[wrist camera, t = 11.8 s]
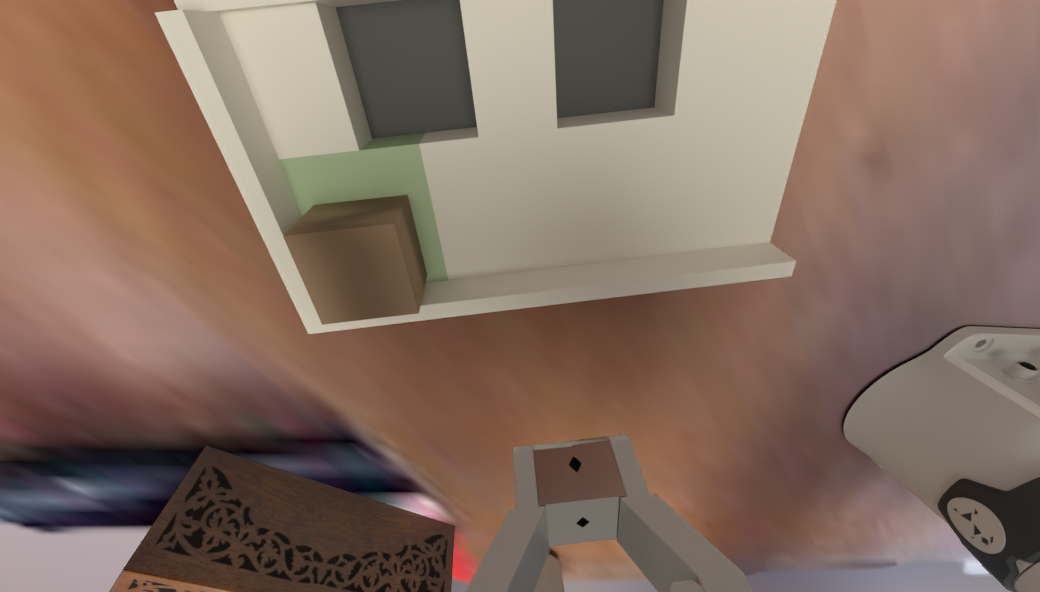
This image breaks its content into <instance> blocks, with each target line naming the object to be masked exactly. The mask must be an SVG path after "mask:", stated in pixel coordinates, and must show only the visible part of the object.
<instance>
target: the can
mask: <svg viewBox="0 0 1040 592" xmlns="http://www.w3.org/2000/svg"><path fill="white" fill-rule="evenodd" d="M534 592H564V586H563V579H562V573H561V566H560V562H559V561H558V559H556V558H555V557H553V556H552V555H551V554H550V553H548V556H547V558H546V561H545V564H544V566H543V569H542V571H541V574H540V577H539V579H538V582H537V585H536V587H535V590H534Z"/></svg>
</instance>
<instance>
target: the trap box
mask: <svg viewBox="0 0 1040 592" xmlns="http://www.w3.org/2000/svg"><path fill="white" fill-rule="evenodd" d="M836 1H837V0H174V2H175V4H176V6H177V8H178V10H174V11H164V12H155V15H156V17H157V19H158V21H159V23H160V25H161V27H162V29H163V31H164V33H165V36H166V38H167V40H168V42H169V44H170V46H171V48H172V50H173V52H174V54H175V56H176V59H177V61H178V63H179V65H180V67H181V69H182V71H183V73H184V75H185V77H186V79H187V81H188V84H189V86H190V88H191V90H192V92H193V94H194V96H195V98H196V100H197V102H198V104H199V107H200V109H201V111H202V113H203V115H204V117H205V119H206V121H207V123H208V125H209V127H210V130H211V132H212V134H213V136H214V138H215V140H216V142H217V144H218V146H219V148H220V150H221V152H222V155H223V157H224V159H225V161H226V163H227V165H228V167H229V169H230V171H231V173H232V175H233V178H234V180H235V182H236V184H237V186H238V188H239V190H240V192H241V194H242V196H243V198H244V201H245V203H246V205H247V207H248V209H249V211H250V213H251V215H252V217H253V219H254V221H255V223H256V226H257V228H258V230H259V232H260V234H261V236H262V238H263V240H264V242H265V244H266V246H267V249H268V251H269V253H270V255H271V257H272V259H273V261H274V263H275V265H276V267H277V269H278V272H279V274H280V276H281V278H282V280H283V282H284V284H285V286H286V288H287V290H288V292H289V294H290V297H291V299H292V301H293V303H294V305H295V307H296V309H297V311H298V313H299V315H300V317H301V320H302V322H303V324H304V326H305V328H306V330H307V332H308V334H313V333H322V332H330V331H338V330H347V329H355V328H363V327H372V326H380V325H388V324H397V323H405V322H413V321H422V320H430V319H439V318H447V317H455V316H464V315H472V314H480V313H489V312H497V311H505V310H514V309H522V308H530V307H539V306H547V305H555V304H564V303H572V302H581V301H589V300H597V299H606V298H614V297H622V296H631V295H639V294H647V293H656V292H664V291H672V290H681V289H689V288H698V287H706V286H714V285H723V284H731V283H739V282H748V281H756V280H764V279H773V278H781V277H789V276H792V273H793V270H794V267H795V264H796V260H794V259H793V258H791V257H790V256H789V255H787V254H786V253H784V252H783V251H782V250H780V249H779V248H777V247H776V246H775V245H773V244H772V243H770V241H771V237H772V233H773V230H774V226H775V223H776V219H777V215H778V212H779V208H780V204H781V201H782V197H783V193H784V190H785V186H786V183H787V179H788V175H789V172H790V168H791V164H792V161H793V157H794V154H795V150H796V146H797V143H798V139H799V135H800V132H801V128H802V125H803V121H804V117H805V114H806V110H807V106H808V103H809V99H810V95H811V92H812V88H813V85H814V81H815V77H816V74H817V70H818V66H819V63H820V59H821V56H822V52H823V48H824V45H825V41H826V37H827V34H828V30H829V27H830V23H831V19H832V16H833V12H834V8H835V5H836ZM399 195H408V198H409V202H410V206H411V210H412V214H413V218H414V223H415V227H416V231H417V235H418V239H419V243H420V247H421V251H422V255H423V259H424V263H425V268H426V272H427V279H426V283H425V288H424V292H423V297H422V301H421V306H420V310H419V313H418V314H409V315H401V316H392V317H383V318H375V319H366V320H358V321H349V322H341V323H332V324H324V325H322V323H321V321H320V319H319V316H318V314H317V312H316V310H315V307H314V305H313V303H312V301H311V298H310V296H309V294H308V292H307V289H306V287H305V285H304V283H303V280H302V278H301V276H300V274H299V271H298V269H297V267H296V265H295V262H294V260H293V258H292V256H291V253H290V251H289V249H288V247H287V244H286V242H285V240H284V238H283V235H284V234H285V233H286V232H287V231H288V230H289V229H290V228H291V227H292V226H293V225H294V224H295V223H296V222H297V221H298V220H299V219H300V218H301V217H302V216H303V215H304V214H305V213H306V212H307V211H308V210H309V209H310V208H311V207H312V206H313V205H318V204H327V203H336V202H345V201H354V200H363V199H372V198H381V197H390V196H399Z"/></svg>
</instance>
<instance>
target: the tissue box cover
mask: <svg viewBox="0 0 1040 592" xmlns="http://www.w3.org/2000/svg"><path fill="white" fill-rule="evenodd" d="M454 528H455V526H453V525H450V524H446V523H443V522H440V521H437V520H434V519H431V518H428V517H425V516H422V515H419V514H416V513H412V512H409V511H406V510H403V509H400V508H397V507H394V506H391V505H388V504H385V503H382V502H379V501H375V500H372V499H369V498H366V497H363V496H360V495H357V494H354V493H351V492H348V491H345V490H341V489H338V488H335V487H332V486H329V485H326V484H323V483H320V482H317V481H314V480H311V479H307V478H304V477H301V476H298V475H295V474H292V473H289V472H286V471H283V470H280V469H277V468H274V467H270V466H267V465H264V464H261V463H258V462H255V461H252V460H249V459H246V458H243V457H240V456H236V455H233V454H230V453H227V452H224V451H221V450H218V449H215V448H212V447H209V446H206V447H205V448H204V450H203V451H202V452H201V454H200V455H199V457H198V458H197V460H196V461H195V463H194V464H193V466H192V467H191V469H190V470H189V472H188V473H187V475H186V476H185V478H184V479H183V481H182V482H181V484H180V485H179V487H178V488H177V490H176V491H175V493H174V494H173V496H172V497H171V499H170V500H169V502H168V503H167V505H166V506H165V508H164V509H163V511H162V512H161V514H160V515H159V517H158V518H157V520H156V521H155V523H154V524H153V525H152V527H151V528H150V530H149V531H148V533H147V534H146V536H145V538H144V539H143V540H142V542H141V544H140V545H139V546H138V548H137V549H136V551H135V552H134V554H133V555H132V557H131V558H130V560H129V561H128V563H127V564H126V566H125V567H124V569H123V571H122V572H121V574H120V575H119V577H118V578H117V580H116V582H115V583H114V585H113V587H112V588H111V590H110V592H451V584H452V565H453V547H454Z"/></svg>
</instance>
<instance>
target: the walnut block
mask: <svg viewBox="0 0 1040 592" xmlns="http://www.w3.org/2000/svg"><path fill="white" fill-rule="evenodd" d="M283 238H284V240H285V242H286V244H287V247H288V249H289V251H290V253H291V256H292V258H293V260H294V262H295V265H296V267H297V269H298V271H299V274H300V276H301V278H302V280H303V283H304V285H305V287H306V289H307V292H308V294H309V296H310V298H311V301H312V303H313V305H314V307H315V310H316V312H317V314H318V316H319V319H320V321H321V323H322V325H324V324H332V323H341V322H349V321H358V320H366V319H375V318H383V317H392V316H401V315H409V314H418V313H419V310H420V306H421V301H422V297H423V292H424V288H425V283H426V279H427V272H426V268H425V263H424V259H423V255H422V251H421V247H420V243H419V239H418V235H417V231H416V227H415V223H414V218H413V214H412V210H411V206H410V202H409V198H408V195H399V196H390V197H381V198H372V199H363V200H354V201H345V202H336V203H327V204H318V205H313V206H312V207H311V208H310V209H309V210H308V211H307V212H306V213H305V214H304V215H303V216H302V217H301V218H300V219H299V220H298V221H297V222H296V223H295V224H294V225H293V226H292V227H291V228H290V229H289V230H288V231H287V232H286V233H285V234H284V235H283Z"/></svg>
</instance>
